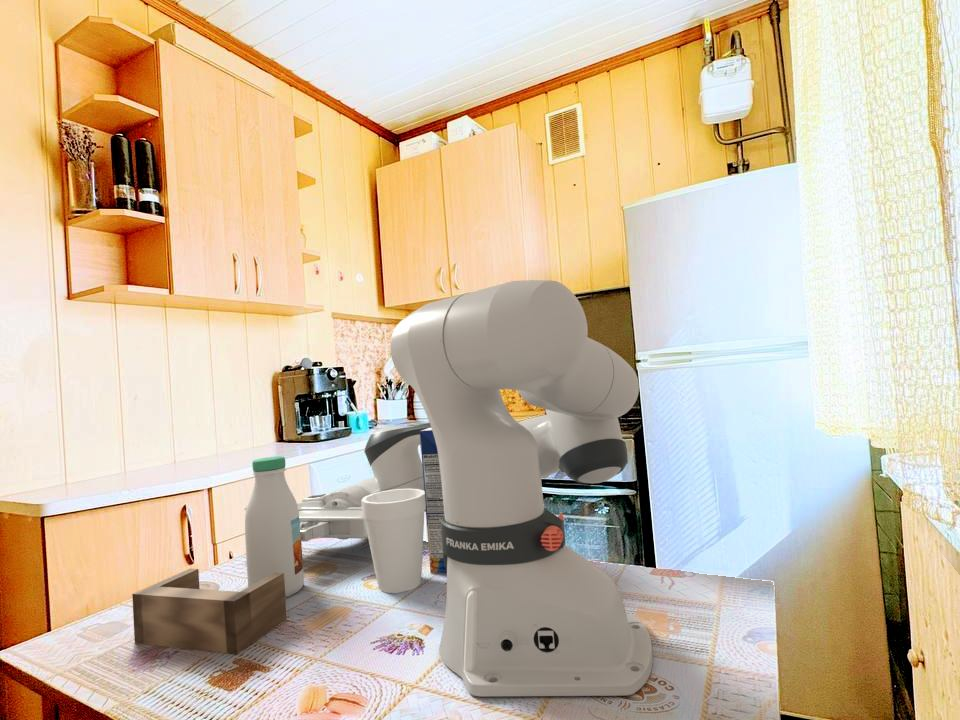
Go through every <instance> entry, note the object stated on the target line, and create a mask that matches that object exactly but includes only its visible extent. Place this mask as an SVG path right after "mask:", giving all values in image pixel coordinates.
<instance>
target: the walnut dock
mask: <svg viewBox="0 0 960 720" xmlns="http://www.w3.org/2000/svg"><path fill="white" fill-rule="evenodd" d="M199 570H200V569H199V568H188V569H186V570H184V571H181V572H180V573H177V574H174V575H173V576H170V577H167V578H165V579H163V580H160V581H158V582H156V583H154V584H152V585H150V586H148V587H145V588H143V589H140V590H138V591H136V592H134V593H132V595H131V597H132V611H133V614H132V616H133V617H132V619H133V634H134V637H133V639H134V644H139V645H140V644H141V645H152V646H157V647H168V648H176V649H185V650H192V651H193V650H194V651H203V652H211V651H212V652H213V653H220V654H231V655H239V654H240V653H241V652H243V651H244V650H246V649H247V648H249V647H250V646H252V645H253V644H255V642H257V641H258V640H260V639H261V638H263V637H264V636H265V635H267V634H268V633H270V632H271V631H273V630H274V629H276V628H277V627H279V626H280V625H281V624H282V622H283V623H285V622H286V621H287V619H288V617H287V602H286V601H287V600H286V598H287V597H285V582H284V573H273V574H271V575H269V576H267V577H266V578H264V579H262V580H260V581H258V582H256V583H255V584H253V585H251V586H249V587H248V586H247V587H245V588H244V589H242V590H240V591H235V590H234V591H232V590H216V589H204V588H201V589H200V573H199V572H200V571H199ZM285 620H286V621H285ZM279 624H280V625H279Z"/></svg>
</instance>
